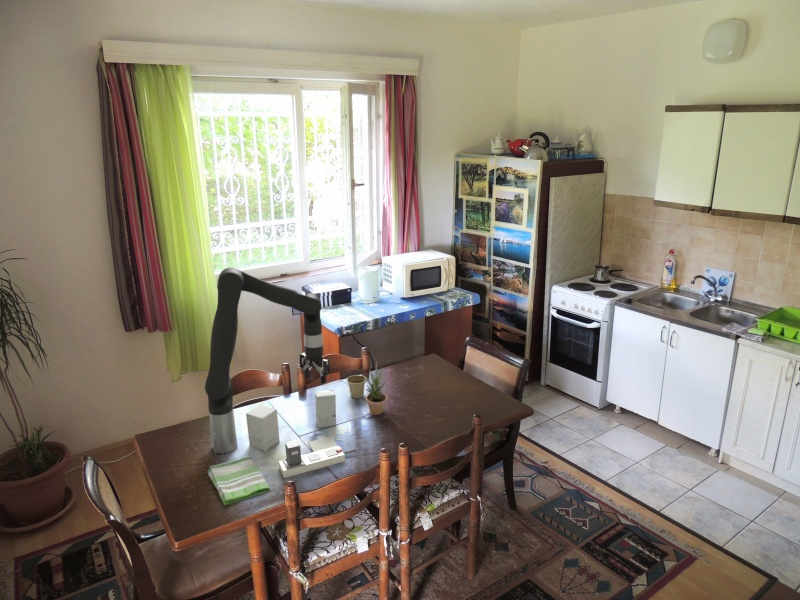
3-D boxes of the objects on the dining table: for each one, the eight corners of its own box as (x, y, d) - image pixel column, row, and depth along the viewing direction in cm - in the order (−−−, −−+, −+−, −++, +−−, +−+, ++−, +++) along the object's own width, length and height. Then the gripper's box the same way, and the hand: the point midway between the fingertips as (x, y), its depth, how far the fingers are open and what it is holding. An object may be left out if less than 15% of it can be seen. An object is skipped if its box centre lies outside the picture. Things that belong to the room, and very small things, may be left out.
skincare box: (318, 428, 243) (316, 397, 239) (315, 421, 249) (313, 391, 244) (337, 425, 246) (335, 394, 241) (334, 418, 251) (333, 388, 247)
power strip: (284, 477, 209) (283, 469, 208) (279, 468, 215) (278, 459, 214) (359, 457, 222) (358, 448, 220) (352, 448, 228) (352, 440, 227)
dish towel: (251, 460, 222) (251, 452, 221) (272, 490, 203) (271, 482, 202) (207, 474, 213) (206, 466, 212) (224, 507, 194) (222, 499, 193)
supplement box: (280, 441, 234) (277, 409, 229) (265, 452, 226) (262, 418, 222) (264, 435, 238) (261, 403, 234) (248, 446, 231) (245, 413, 226)
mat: (315, 455, 223) (315, 454, 223) (308, 443, 232) (308, 442, 232) (339, 449, 227) (339, 447, 227) (331, 437, 236) (331, 436, 236)
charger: (289, 467, 210) (288, 448, 208) (286, 461, 214) (285, 442, 212) (301, 464, 212) (300, 445, 210) (298, 458, 216) (296, 439, 214)
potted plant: (390, 414, 254) (389, 364, 247) (370, 418, 251) (368, 367, 244) (382, 404, 263) (381, 355, 256) (363, 408, 260) (361, 359, 252)
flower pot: (344, 393, 275) (344, 377, 272) (362, 389, 278) (362, 373, 276) (351, 401, 267) (350, 384, 264) (369, 397, 270) (369, 381, 268)
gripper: (293, 342, 226) (295, 379, 231) (320, 350, 218) (322, 388, 223) (306, 337, 232) (308, 373, 237) (333, 344, 224) (334, 381, 229)
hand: (315, 380), depth 230 cm, fingers open, 8 cm apart
